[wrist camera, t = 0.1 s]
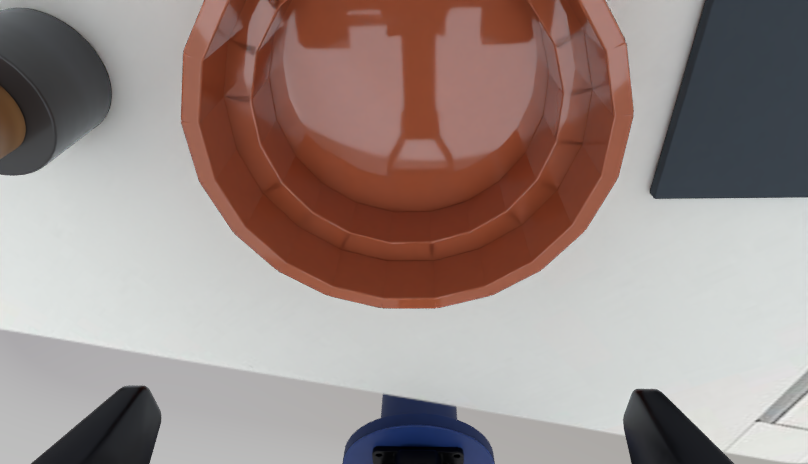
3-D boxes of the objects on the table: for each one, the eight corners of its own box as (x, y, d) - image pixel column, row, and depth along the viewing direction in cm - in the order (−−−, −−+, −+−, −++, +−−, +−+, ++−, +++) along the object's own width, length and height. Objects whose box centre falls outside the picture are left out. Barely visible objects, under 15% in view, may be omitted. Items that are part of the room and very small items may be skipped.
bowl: (557, 230, 25) (586, 309, 20) (270, 232, 25) (237, 308, 21) (619, -126, 16) (693, -126, 12) (193, -110, 17) (110, -104, 13)
